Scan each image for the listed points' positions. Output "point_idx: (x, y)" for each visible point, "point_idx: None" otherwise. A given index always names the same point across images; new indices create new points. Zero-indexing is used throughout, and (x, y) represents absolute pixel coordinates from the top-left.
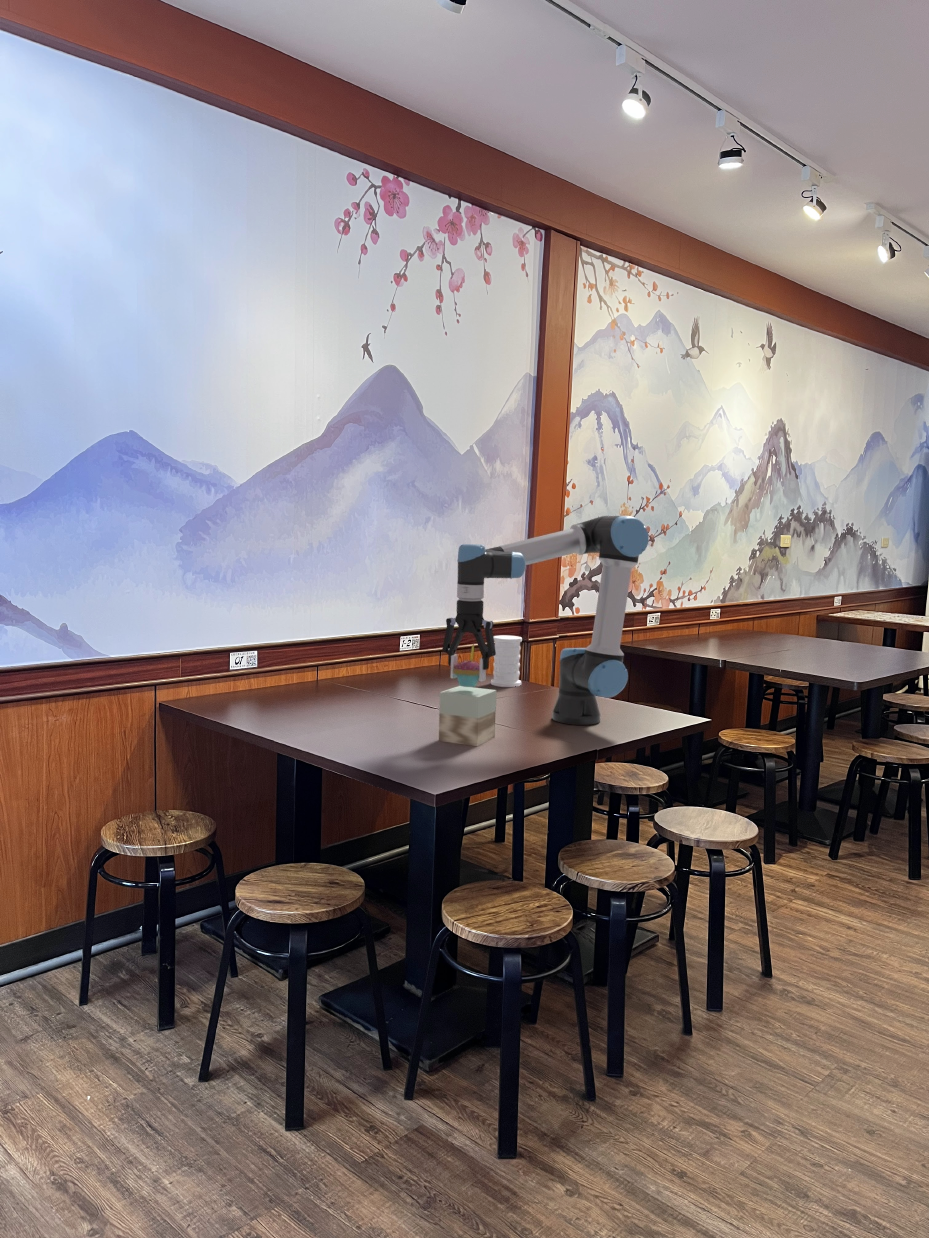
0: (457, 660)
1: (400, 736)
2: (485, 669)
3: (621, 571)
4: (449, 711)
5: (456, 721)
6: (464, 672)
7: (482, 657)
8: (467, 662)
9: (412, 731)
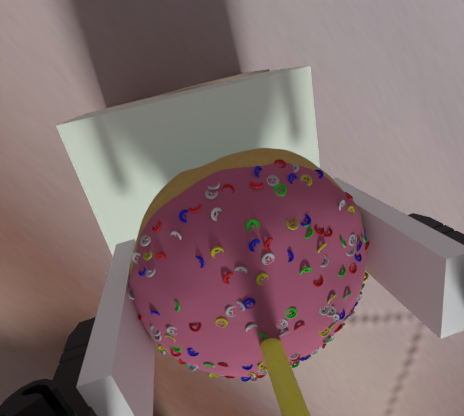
0: (398, 299)
1: (357, 23)
2: (84, 322)
3: None
4: (226, 81)
5: (188, 89)
6: (203, 169)
7: (41, 395)
8: (254, 279)
9: (362, 104)
